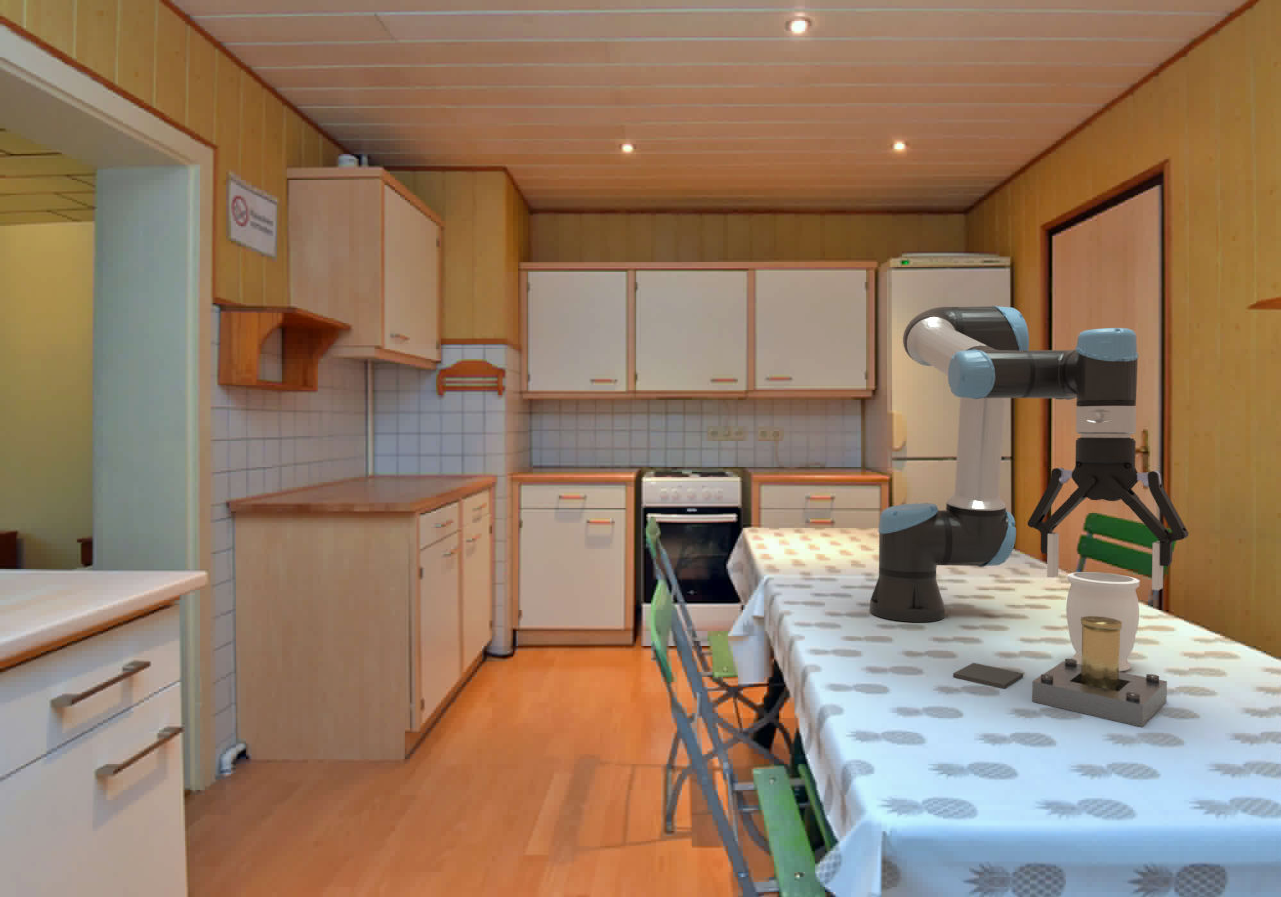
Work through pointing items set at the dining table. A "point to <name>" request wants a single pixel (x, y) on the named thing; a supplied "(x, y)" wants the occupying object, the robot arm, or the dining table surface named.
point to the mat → (988, 675)
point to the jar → (1103, 608)
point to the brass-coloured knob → (1100, 652)
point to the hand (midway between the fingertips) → (1102, 582)
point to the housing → (1101, 694)
